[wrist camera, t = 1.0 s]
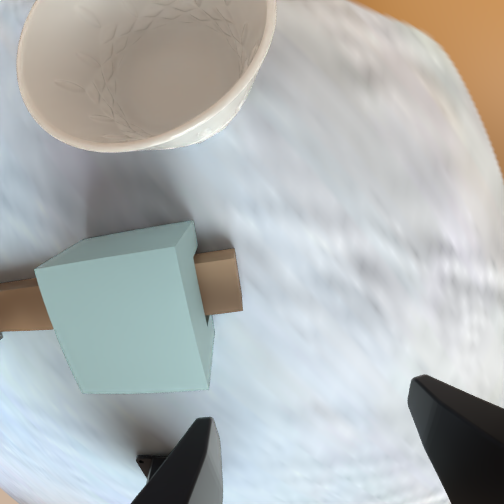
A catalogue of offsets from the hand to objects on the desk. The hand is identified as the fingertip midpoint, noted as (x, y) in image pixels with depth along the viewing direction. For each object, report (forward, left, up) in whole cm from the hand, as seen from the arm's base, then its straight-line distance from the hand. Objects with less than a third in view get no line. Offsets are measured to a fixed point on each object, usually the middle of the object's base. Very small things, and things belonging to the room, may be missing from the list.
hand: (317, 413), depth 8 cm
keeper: (0, +7, -12) cm, 14 cm away
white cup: (+11, +3, -12) cm, 17 cm away
